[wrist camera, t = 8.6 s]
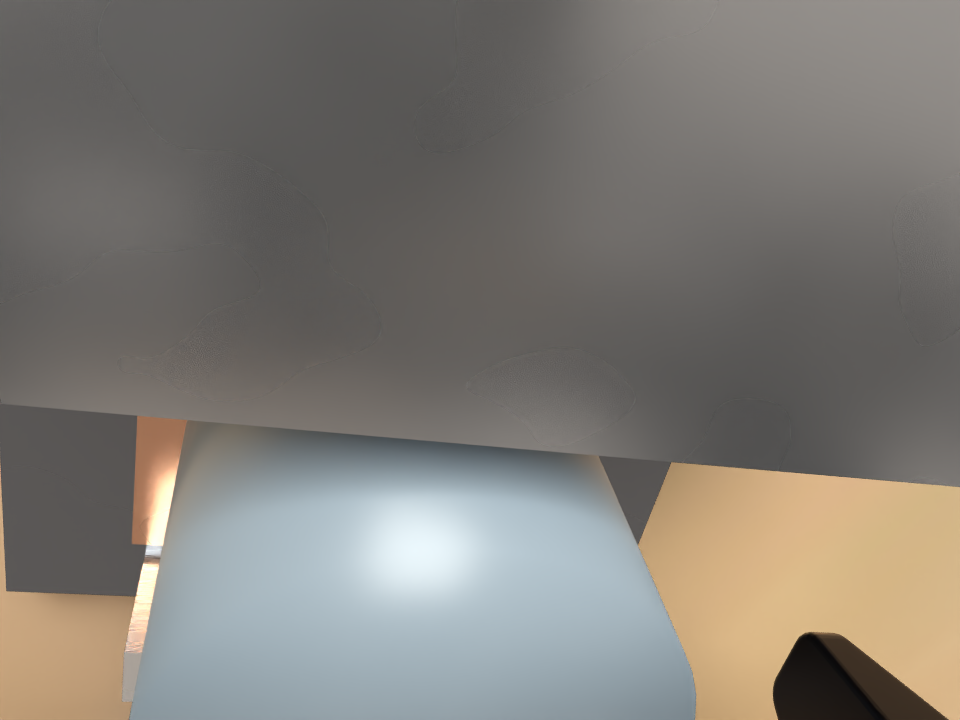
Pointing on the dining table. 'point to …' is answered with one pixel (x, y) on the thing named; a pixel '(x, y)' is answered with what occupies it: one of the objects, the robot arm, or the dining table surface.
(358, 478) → the grey round-ended capsule
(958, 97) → the motor mount
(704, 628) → the dining table surface
